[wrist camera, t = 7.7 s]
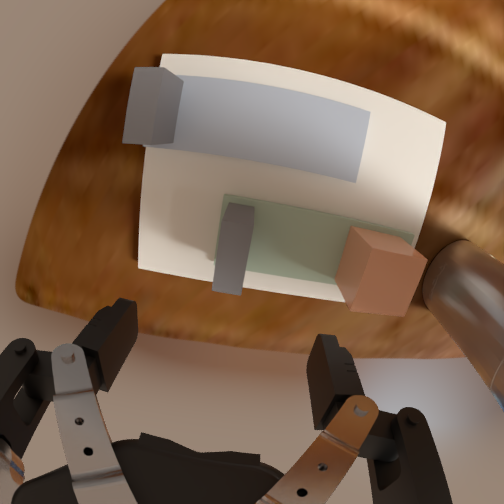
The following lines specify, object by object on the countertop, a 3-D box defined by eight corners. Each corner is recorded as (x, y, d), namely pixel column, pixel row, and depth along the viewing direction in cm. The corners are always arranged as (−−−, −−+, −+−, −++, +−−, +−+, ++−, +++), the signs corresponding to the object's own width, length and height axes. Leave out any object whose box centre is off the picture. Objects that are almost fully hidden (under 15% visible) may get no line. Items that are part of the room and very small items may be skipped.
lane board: (439, 122, 21) (446, 122, 20) (387, 301, 28) (391, 307, 27) (166, 57, 19) (162, 53, 18) (142, 262, 26) (138, 267, 25)
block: (400, 237, 23) (427, 259, 18) (382, 286, 25) (403, 316, 20) (350, 225, 23) (372, 247, 18) (334, 279, 25) (349, 310, 20)
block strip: (411, 232, 24) (443, 257, 18) (390, 290, 26) (415, 322, 21) (224, 193, 23) (214, 210, 17) (214, 262, 25) (203, 295, 20)
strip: (368, 112, 20) (399, 107, 15) (353, 182, 22) (380, 196, 17) (157, 75, 19) (129, 60, 14) (145, 146, 21) (114, 150, 16)
